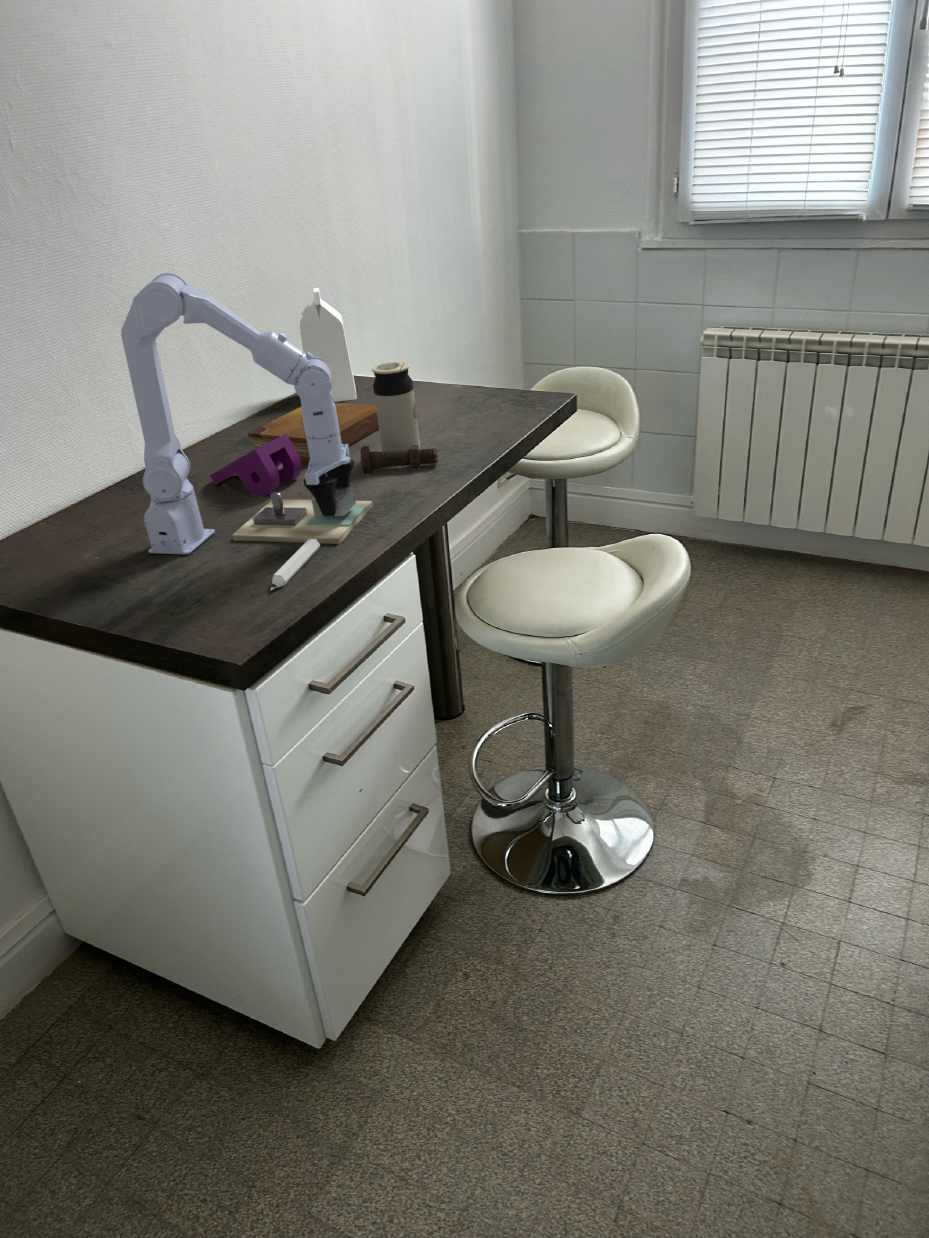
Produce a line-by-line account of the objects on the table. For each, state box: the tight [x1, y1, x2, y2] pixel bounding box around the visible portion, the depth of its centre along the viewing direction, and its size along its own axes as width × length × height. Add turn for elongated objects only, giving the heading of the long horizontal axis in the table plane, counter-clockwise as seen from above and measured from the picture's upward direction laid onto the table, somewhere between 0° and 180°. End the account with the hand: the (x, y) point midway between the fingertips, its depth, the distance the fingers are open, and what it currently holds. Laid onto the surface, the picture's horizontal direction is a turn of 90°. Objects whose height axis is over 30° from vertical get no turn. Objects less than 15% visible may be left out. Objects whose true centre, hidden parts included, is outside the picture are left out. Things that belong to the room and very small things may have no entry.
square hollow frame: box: [310, 486, 357, 516], centre depth 160 cm, size 6×6×3 cm
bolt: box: [360, 445, 439, 476], centre depth 181 cm, size 6×5×15 cm
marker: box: [270, 539, 321, 591], centre depth 146 cm, size 3×2×16 cm
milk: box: [299, 287, 358, 403], centre depth 228 cm, size 12×12×26 cm
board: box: [231, 498, 374, 545], centre depth 162 cm, size 16×20×1 cm
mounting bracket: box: [209, 434, 303, 497], centre depth 182 cm, size 9×8×18 cm
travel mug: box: [371, 361, 422, 452], centre depth 186 cm, size 8×8×18 cm
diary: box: [247, 402, 379, 463], centre depth 201 cm, size 23×19×6 cm
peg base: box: [253, 491, 307, 526], centre depth 161 cm, size 5×8×5 cm, turn 74°
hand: (335, 508), depth 161 cm, fingers closed on square hollow frame, 5 cm apart
